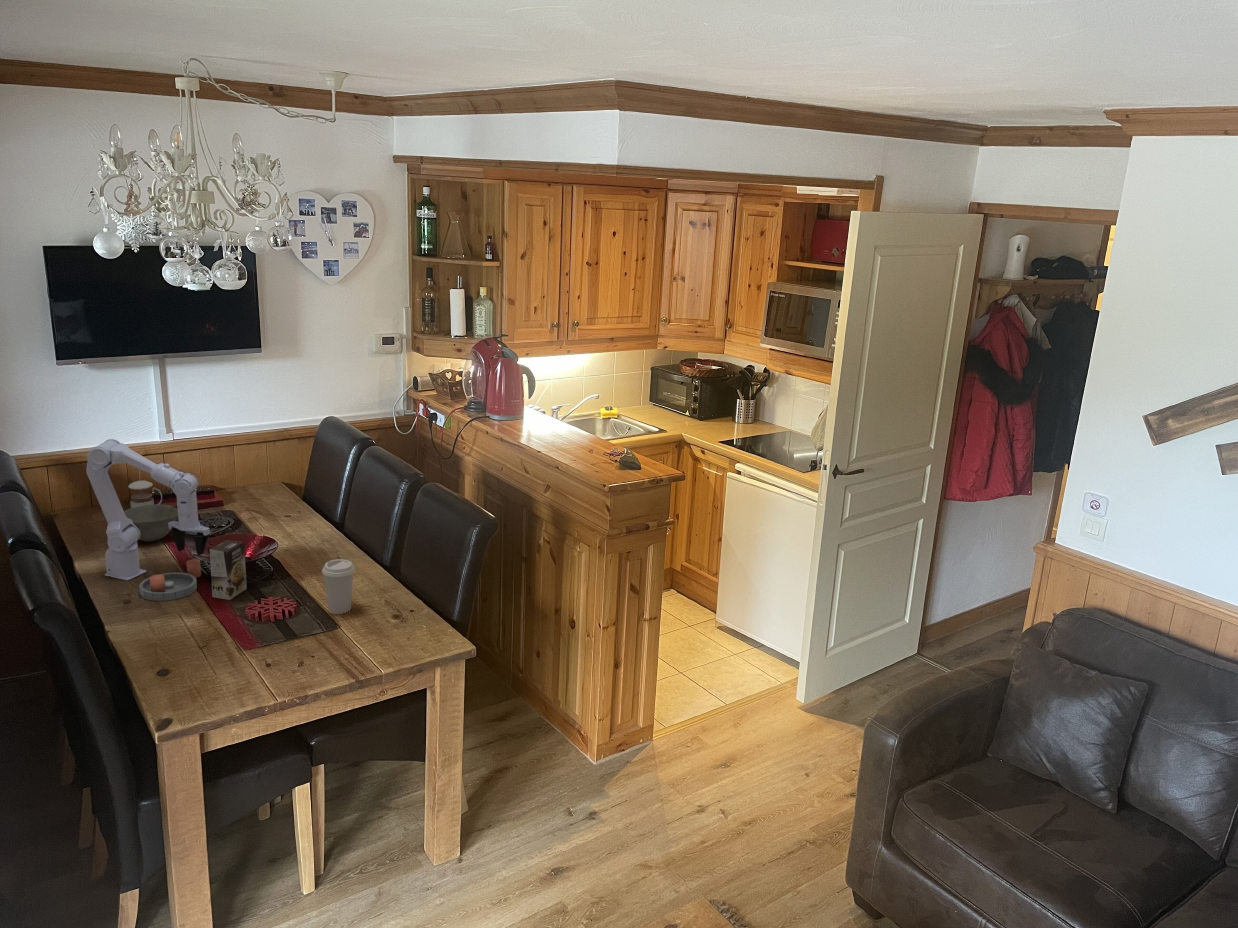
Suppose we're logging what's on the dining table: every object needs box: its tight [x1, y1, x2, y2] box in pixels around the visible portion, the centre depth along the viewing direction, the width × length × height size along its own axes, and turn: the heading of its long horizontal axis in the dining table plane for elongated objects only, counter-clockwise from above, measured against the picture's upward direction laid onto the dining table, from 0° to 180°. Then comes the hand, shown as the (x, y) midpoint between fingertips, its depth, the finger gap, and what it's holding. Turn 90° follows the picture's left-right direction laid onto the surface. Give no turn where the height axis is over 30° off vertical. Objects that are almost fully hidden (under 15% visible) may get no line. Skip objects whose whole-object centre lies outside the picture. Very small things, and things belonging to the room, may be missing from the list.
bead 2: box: [186, 558, 202, 579], centre depth 296 cm, size 4×4×5 cm
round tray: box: [138, 572, 198, 602], centre depth 285 cm, size 16×16×2 cm
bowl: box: [123, 504, 178, 543], centre depth 323 cm, size 19×19×10 cm
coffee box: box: [209, 539, 248, 601], centre depth 284 cm, size 9×6×16 cm
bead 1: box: [150, 574, 165, 592], centre depth 281 cm, size 4×4×5 cm
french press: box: [127, 468, 163, 508], centre depth 338 cm, size 10×12×25 cm
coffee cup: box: [321, 558, 356, 615], centre depth 278 cm, size 10×10×15 cm
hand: (191, 552), depth 294 cm, fingers open, 7 cm apart
